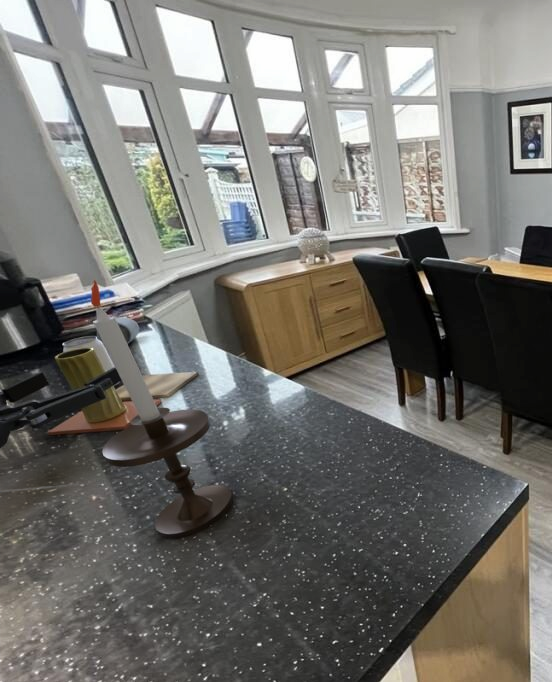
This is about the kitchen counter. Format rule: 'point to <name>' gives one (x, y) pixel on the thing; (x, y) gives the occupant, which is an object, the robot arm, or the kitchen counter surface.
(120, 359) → the candlestick
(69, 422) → the terracotta mat
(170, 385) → the birch mat
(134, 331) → the ceramic mug
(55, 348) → the kitchen counter surface
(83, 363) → the vase
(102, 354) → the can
